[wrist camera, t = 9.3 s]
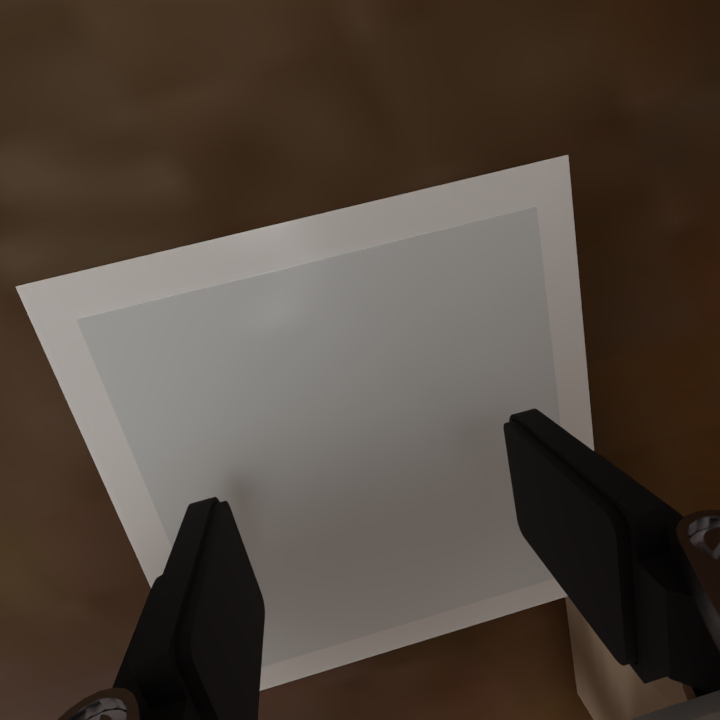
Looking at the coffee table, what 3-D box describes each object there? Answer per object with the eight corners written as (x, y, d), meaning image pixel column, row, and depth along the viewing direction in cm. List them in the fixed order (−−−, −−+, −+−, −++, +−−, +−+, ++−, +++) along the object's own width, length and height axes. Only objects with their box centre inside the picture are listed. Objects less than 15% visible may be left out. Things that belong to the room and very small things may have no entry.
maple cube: (940, 668, 11) (718, 517, 17) (705, 748, 11) (560, 565, 16) (910, 832, 13) (718, 644, 18) (708, 906, 12) (576, 691, 18)
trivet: (43, 280, 11) (11, 287, 10) (542, 161, 12) (572, 153, 11) (211, 671, 15) (203, 712, 14) (583, 559, 16) (608, 588, 15)
